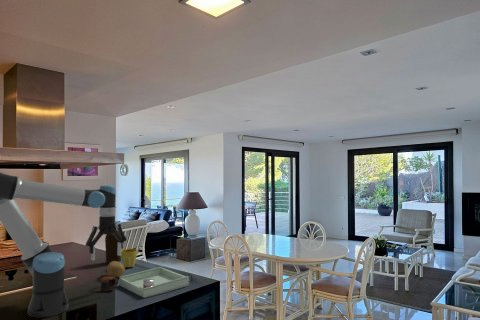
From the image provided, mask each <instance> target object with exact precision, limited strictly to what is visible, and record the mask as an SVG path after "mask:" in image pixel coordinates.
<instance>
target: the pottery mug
mask: <svg viewBox="0 0 480 320" xmlns="http://www.w3.org/2000/svg"><path fill="white" fill-rule="evenodd" d="M99 277H100V278H99V279H98V280H97V281H98V282H99V283H100V286H98V288H97V289H98V290H99V291H98V290H97V291H98V292H110V289H112V290H115V288H116V287H117V285H119V284H118V283H119V279H118V277H116V276H115V275H109V274H101V275H100V276H99Z"/></svg>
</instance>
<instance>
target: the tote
mask: <svg viewBox="0 0 480 320" xmlns="http://www.w3.org/2000/svg"><path fill="white" fill-rule="evenodd" d="M118 278H119V279H118V283H119V284H118V285H119V286H120V287H121V288H123V289H126V290H128V291H130V292H131V293H134V294H136V295H137V296H139V297H142V298H144V299H146V298H149V297H154V296H157V295H160V294H164V293H168V292H172V291H174V290H179V289H182V288H184V287H188V286H190V276H188V275H183V274H181V273H178V272H174V271H172V270H169V269H167V268H165V267H164V266H159V267H154V268H150V269H147V270H142V271H138V272H134V273H130V274H125V275H122V276H120V277H118ZM145 279H154V286H150V287H146V288H143V280H145Z"/></svg>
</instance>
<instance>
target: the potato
mask: <svg viewBox="0 0 480 320" xmlns="http://www.w3.org/2000/svg"><path fill="white" fill-rule="evenodd" d="M106 268H107V269H106V272H107V275H115V276H116V277H115V278H119V277H120V276H124V274H125V271H126V267H124V265H123V263H121V262H120V261H119V262H117V261H112V262H110V263H108V265H107V267H106Z"/></svg>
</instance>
